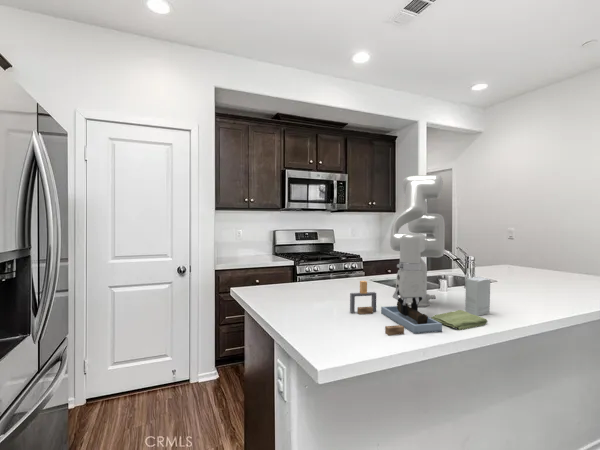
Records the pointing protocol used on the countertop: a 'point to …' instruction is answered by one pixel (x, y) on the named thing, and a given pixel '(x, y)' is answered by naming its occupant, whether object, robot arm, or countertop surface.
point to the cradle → (388, 329)
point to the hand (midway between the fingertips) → (409, 313)
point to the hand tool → (414, 314)
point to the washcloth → (460, 319)
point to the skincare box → (477, 296)
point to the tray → (411, 321)
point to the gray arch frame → (362, 293)
